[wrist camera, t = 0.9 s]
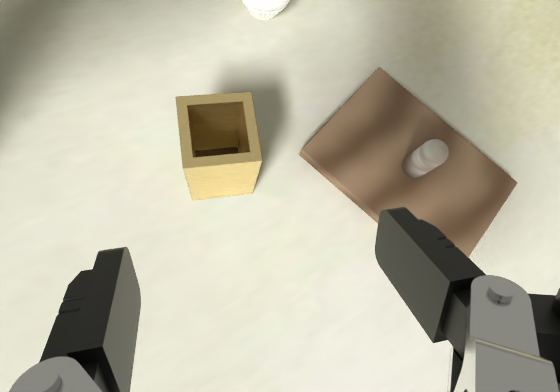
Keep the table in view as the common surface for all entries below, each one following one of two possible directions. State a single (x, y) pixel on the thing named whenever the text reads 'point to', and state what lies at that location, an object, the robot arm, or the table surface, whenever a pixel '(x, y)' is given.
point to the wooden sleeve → (219, 144)
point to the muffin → (265, 8)
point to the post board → (380, 155)
